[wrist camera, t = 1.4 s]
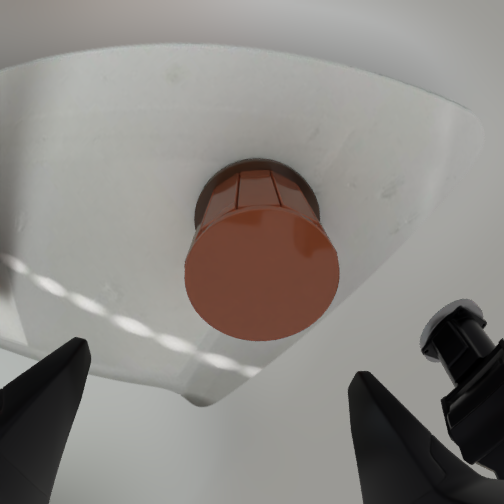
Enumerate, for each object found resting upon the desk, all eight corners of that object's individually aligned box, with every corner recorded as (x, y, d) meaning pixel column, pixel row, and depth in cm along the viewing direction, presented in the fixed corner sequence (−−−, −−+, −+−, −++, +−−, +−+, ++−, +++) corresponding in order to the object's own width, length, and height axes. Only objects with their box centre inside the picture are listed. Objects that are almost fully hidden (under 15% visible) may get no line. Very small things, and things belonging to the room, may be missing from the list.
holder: (339, 193, 20) (370, 228, 15) (280, 287, 23) (289, 341, 18) (228, 136, 18) (220, 150, 13) (178, 243, 21) (158, 291, 16)
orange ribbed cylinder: (330, 201, 19) (368, 252, 13) (278, 284, 22) (289, 356, 16) (232, 151, 18) (224, 179, 11) (187, 245, 20) (164, 311, 14)
